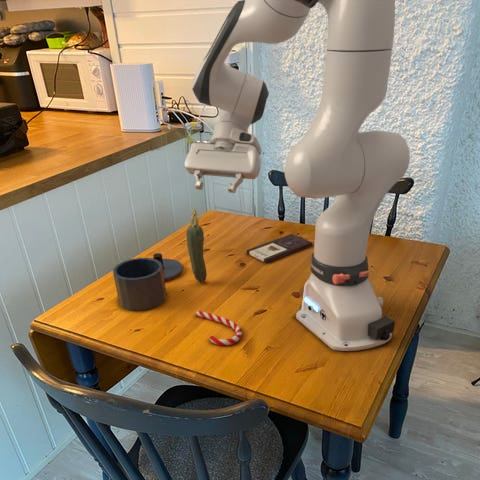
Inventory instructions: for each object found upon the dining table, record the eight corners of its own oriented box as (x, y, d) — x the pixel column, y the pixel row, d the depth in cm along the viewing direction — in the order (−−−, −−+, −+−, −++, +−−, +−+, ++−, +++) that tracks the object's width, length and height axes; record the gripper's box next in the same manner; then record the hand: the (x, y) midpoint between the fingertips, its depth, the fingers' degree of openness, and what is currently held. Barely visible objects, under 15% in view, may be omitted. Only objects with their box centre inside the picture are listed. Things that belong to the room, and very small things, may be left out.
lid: (186, 278, 125) (184, 261, 122) (139, 286, 122) (135, 268, 119) (178, 259, 135) (176, 242, 132) (134, 266, 132) (131, 249, 130)
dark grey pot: (169, 306, 113) (165, 274, 109) (120, 314, 111) (114, 282, 106) (162, 284, 123) (158, 254, 118) (117, 291, 120) (111, 261, 116)
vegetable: (203, 288, 120) (197, 213, 109) (188, 286, 121) (180, 212, 110) (210, 281, 123) (204, 207, 113) (195, 279, 125) (188, 206, 114)
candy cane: (208, 305, 110) (250, 331, 101) (208, 309, 111) (250, 336, 101) (180, 317, 106) (222, 345, 96) (181, 322, 107) (222, 350, 97)
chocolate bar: (312, 242, 140) (266, 260, 130) (312, 245, 140) (266, 263, 131) (291, 233, 146) (246, 250, 136) (291, 236, 146) (246, 253, 137)
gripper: (188, 132, 123) (174, 180, 121) (261, 136, 116) (247, 187, 114) (197, 146, 129) (184, 192, 127) (267, 151, 122) (254, 199, 120)
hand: (214, 190), depth 120 cm, fingers open, 8 cm apart
